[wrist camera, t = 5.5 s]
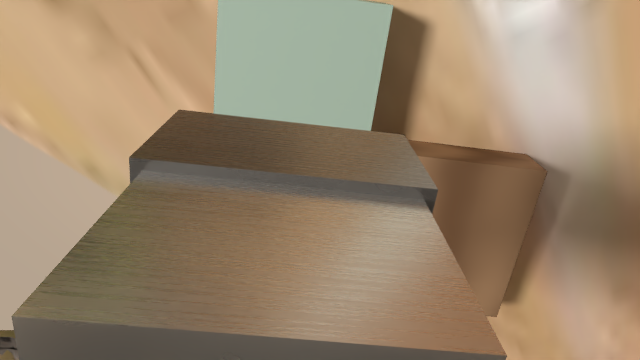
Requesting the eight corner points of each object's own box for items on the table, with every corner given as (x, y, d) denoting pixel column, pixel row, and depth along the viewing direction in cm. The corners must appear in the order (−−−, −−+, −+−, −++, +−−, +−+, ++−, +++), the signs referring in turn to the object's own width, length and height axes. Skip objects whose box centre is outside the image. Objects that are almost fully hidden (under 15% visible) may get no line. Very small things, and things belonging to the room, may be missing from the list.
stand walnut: (526, 154, 30) (547, 171, 28) (482, 290, 35) (496, 317, 32) (392, 138, 30) (400, 154, 27) (364, 278, 34) (369, 304, 31)
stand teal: (385, 3, 27) (393, 5, 24) (354, 177, 31) (359, 196, 28) (229, -19, 26) (218, -19, 23) (220, 161, 30) (211, 179, 28)
